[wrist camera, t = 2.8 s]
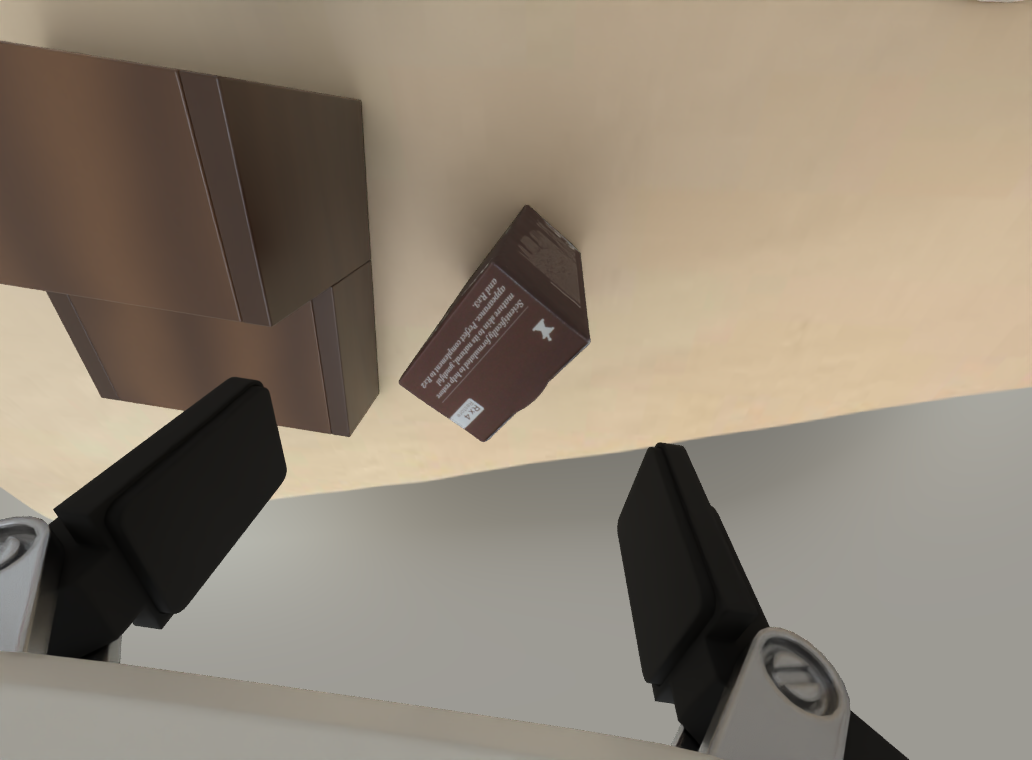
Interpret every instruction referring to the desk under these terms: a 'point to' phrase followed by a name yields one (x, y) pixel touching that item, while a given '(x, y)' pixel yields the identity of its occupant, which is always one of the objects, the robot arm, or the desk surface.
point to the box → (505, 330)
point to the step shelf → (192, 231)
